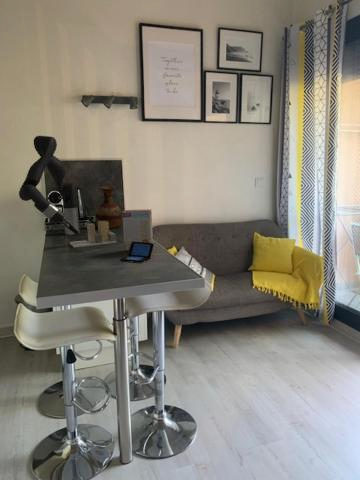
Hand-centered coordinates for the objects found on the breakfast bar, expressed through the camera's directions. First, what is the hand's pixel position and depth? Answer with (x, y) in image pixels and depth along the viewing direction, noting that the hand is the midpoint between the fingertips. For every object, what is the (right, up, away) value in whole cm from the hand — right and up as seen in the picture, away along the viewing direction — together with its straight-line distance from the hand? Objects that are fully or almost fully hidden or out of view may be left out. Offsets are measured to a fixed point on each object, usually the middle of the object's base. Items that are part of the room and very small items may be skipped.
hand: (77, 233), depth 214 cm
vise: (+8, -6, +5) cm, 11 cm away
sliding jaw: (+8, -4, +5) cm, 11 cm away
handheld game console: (+37, -13, -37) cm, 54 cm away
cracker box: (+36, -9, -18) cm, 41 cm away
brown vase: (+6, +5, +65) cm, 66 cm away
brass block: (+13, -4, +7) cm, 16 cm away
